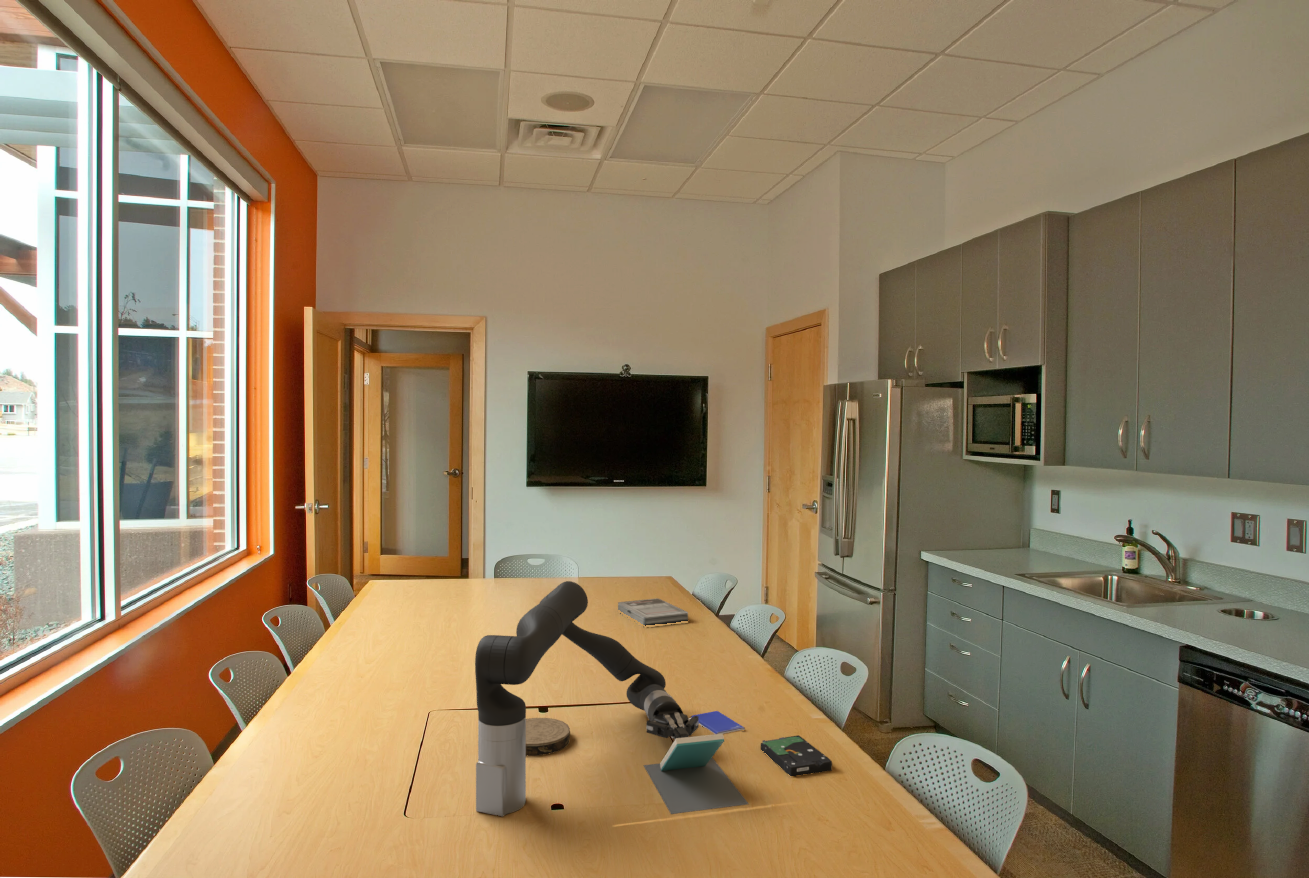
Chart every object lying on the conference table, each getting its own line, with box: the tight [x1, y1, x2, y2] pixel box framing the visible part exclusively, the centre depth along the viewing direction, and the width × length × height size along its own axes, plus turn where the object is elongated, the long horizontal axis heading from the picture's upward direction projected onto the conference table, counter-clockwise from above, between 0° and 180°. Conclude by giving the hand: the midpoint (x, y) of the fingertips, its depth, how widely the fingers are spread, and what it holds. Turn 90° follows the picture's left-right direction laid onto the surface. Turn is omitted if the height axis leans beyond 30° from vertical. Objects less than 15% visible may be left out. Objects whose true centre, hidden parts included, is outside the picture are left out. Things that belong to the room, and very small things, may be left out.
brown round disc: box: [526, 717, 571, 757], centre depth 183 cm, size 16×16×3 cm
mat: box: [643, 757, 749, 815], centre depth 161 cm, size 22×16×1 cm
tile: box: [659, 733, 725, 771], centre depth 163 cm, size 2×10×16 cm
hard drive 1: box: [617, 597, 689, 626], centre depth 302 cm, size 18×27×4 cm
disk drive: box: [760, 735, 833, 777], centre depth 174 cm, size 10×3×15 cm
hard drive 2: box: [690, 710, 746, 735], centre depth 194 cm, size 2×8×12 cm
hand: (683, 739), depth 168 cm, fingers closed
